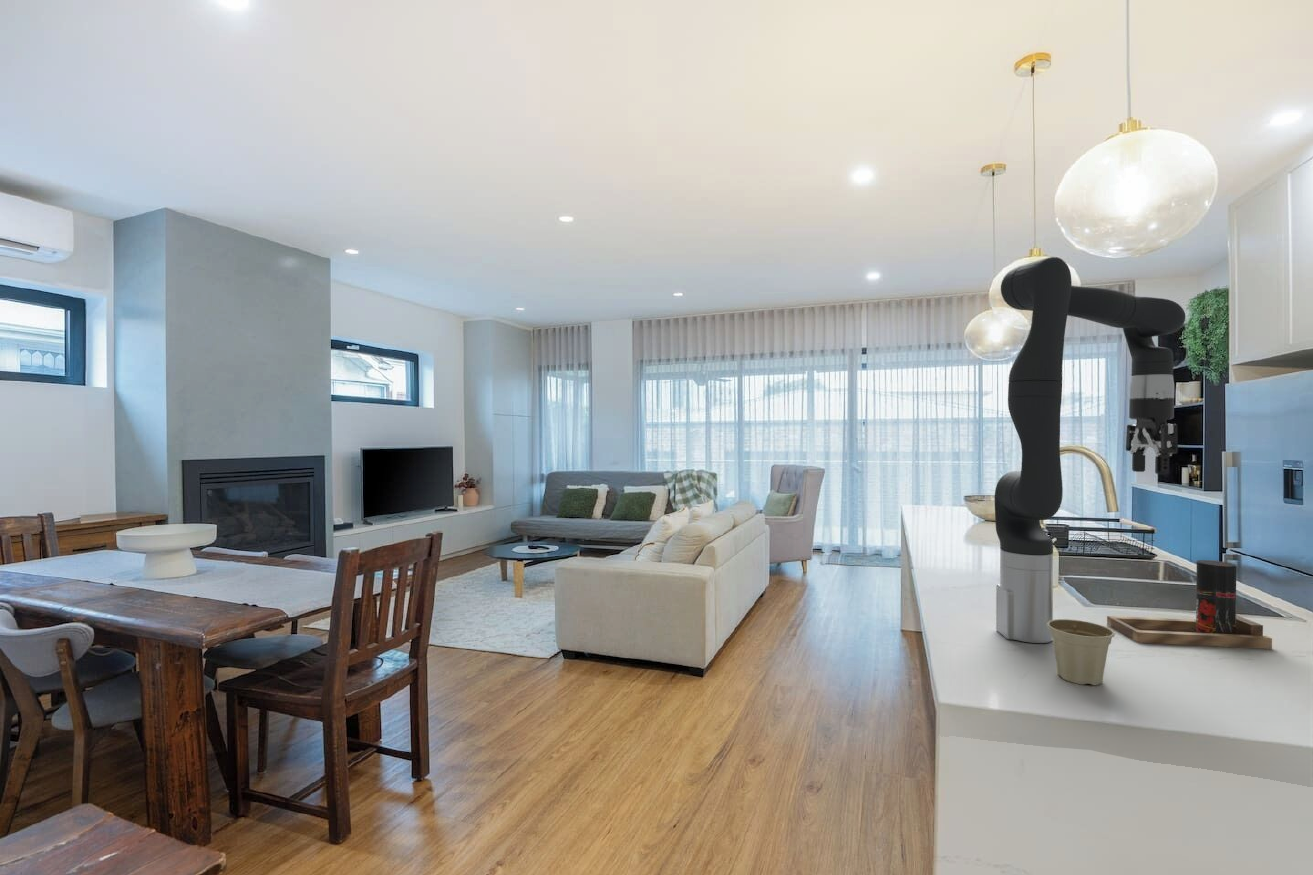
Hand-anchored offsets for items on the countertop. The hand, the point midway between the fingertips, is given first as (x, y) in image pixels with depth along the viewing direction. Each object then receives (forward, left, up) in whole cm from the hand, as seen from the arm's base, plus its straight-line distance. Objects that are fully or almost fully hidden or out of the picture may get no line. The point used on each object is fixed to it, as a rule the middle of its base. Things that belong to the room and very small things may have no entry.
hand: (1150, 472), depth 135 cm
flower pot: (-29, -35, -33) cm, 56 cm away
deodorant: (+8, -8, -33) cm, 34 cm away
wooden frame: (+2, -8, -32) cm, 33 cm away
